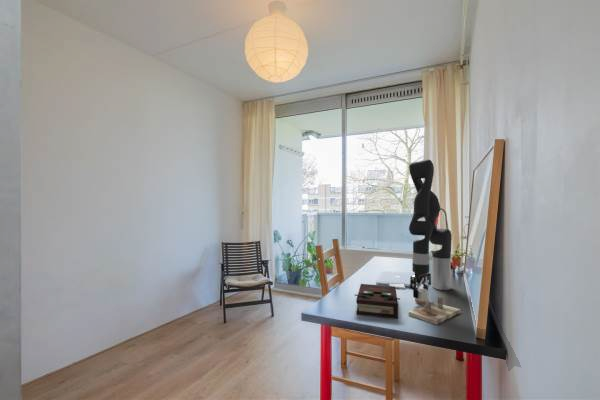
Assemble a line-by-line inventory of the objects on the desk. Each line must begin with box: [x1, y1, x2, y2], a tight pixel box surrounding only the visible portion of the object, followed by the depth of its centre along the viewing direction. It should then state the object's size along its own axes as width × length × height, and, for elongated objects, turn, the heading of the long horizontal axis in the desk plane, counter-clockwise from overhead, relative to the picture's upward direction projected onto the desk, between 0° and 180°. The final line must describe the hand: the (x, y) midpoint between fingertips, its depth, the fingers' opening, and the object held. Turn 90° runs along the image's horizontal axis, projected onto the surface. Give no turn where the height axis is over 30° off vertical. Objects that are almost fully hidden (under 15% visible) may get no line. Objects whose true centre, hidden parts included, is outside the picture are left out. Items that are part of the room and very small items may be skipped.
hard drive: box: [388, 283, 406, 290], centre depth 166 cm, size 2×8×12 cm
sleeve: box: [414, 287, 430, 306], centre depth 138 cm, size 6×6×6 cm
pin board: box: [408, 296, 461, 325], centre depth 124 cm, size 20×12×6 cm, turn 127°
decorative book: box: [354, 283, 401, 319], centre depth 133 cm, size 19×8×30 cm
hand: (420, 296), depth 138 cm, fingers open, 8 cm apart
